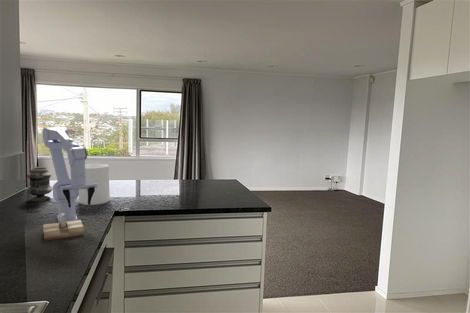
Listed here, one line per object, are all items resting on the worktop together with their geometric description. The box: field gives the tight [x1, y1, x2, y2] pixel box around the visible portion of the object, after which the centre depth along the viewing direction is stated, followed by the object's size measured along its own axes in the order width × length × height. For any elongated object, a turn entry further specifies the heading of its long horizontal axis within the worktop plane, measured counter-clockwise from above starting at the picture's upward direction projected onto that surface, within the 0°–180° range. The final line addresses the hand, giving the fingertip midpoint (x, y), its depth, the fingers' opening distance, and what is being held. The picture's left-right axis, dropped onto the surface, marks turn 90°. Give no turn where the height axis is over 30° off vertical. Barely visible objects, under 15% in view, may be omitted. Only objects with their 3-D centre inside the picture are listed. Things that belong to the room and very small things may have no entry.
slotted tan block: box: [42, 219, 85, 242], centre depth 136 cm, size 10×14×4 cm
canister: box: [78, 163, 111, 206], centre depth 186 cm, size 16×16×20 cm
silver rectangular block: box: [60, 213, 66, 228], centre depth 136 cm, size 5×2×7 cm, turn 31°
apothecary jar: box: [26, 166, 53, 202], centre depth 187 cm, size 12×12×18 cm
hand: (79, 205), depth 144 cm, fingers open, 7 cm apart
